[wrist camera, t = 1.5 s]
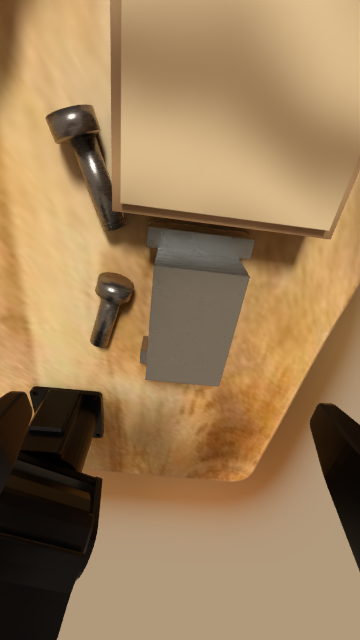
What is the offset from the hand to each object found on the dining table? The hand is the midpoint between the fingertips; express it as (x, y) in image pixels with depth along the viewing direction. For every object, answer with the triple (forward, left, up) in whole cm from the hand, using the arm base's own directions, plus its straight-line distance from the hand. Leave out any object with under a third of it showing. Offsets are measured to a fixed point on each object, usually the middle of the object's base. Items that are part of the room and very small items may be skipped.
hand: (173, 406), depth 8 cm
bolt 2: (-4, +5, -12) cm, 14 cm away
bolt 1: (+5, +5, -12) cm, 14 cm away
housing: (-2, -1, -12) cm, 13 cm away
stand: (+9, -2, -12) cm, 15 cm away
